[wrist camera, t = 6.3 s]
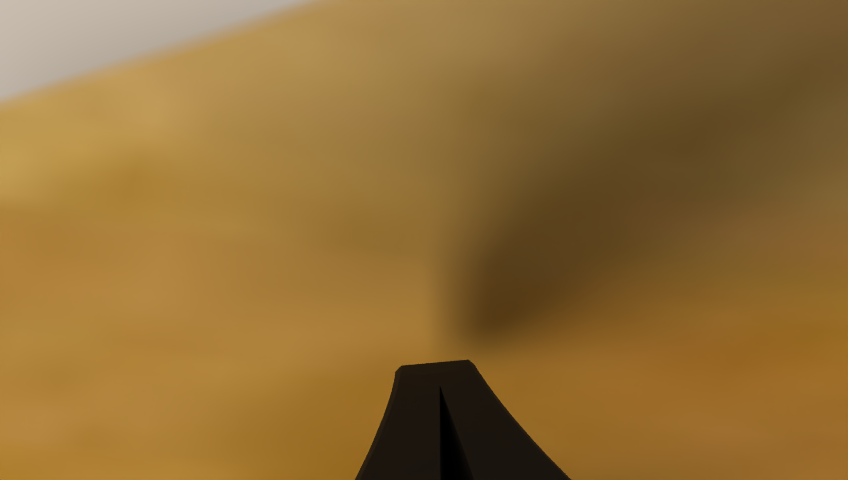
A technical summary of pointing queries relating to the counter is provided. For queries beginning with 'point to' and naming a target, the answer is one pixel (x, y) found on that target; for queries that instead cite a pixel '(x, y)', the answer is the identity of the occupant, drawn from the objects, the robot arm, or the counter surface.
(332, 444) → the counter surface
